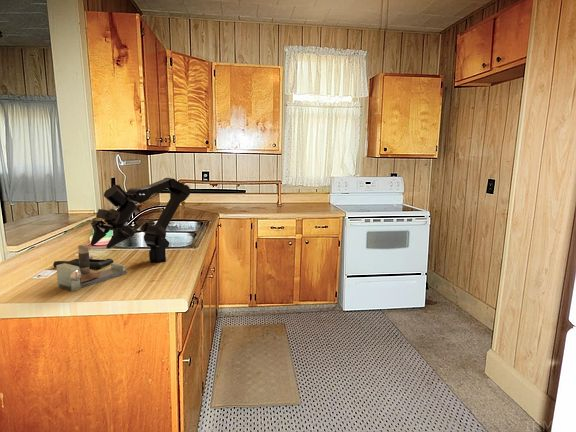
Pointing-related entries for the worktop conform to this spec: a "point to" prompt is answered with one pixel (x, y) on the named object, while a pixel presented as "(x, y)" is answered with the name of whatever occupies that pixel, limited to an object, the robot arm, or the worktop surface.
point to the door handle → (93, 263)
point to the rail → (71, 276)
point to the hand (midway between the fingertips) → (99, 246)
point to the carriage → (86, 265)
